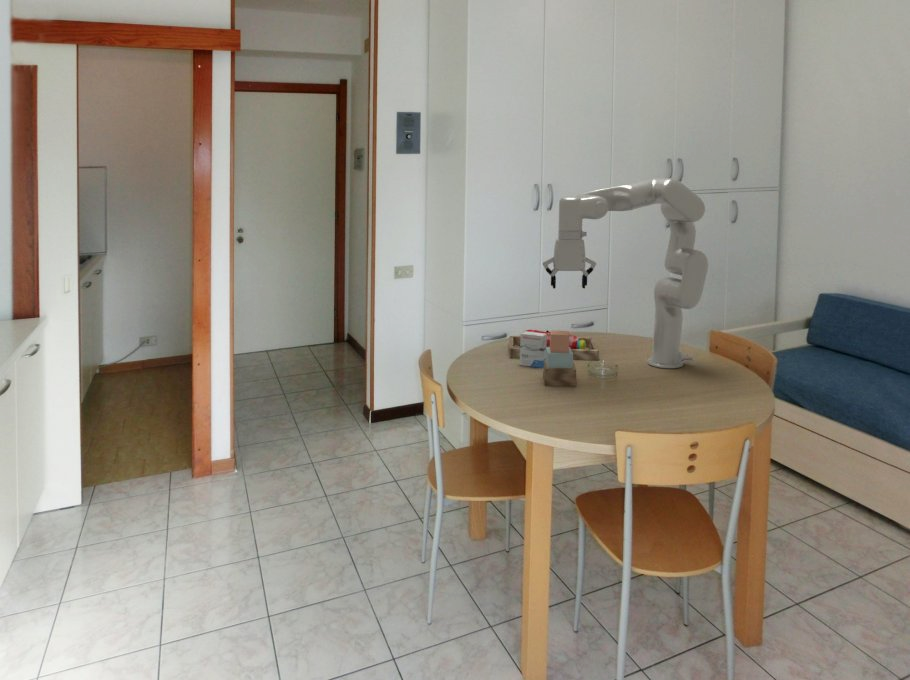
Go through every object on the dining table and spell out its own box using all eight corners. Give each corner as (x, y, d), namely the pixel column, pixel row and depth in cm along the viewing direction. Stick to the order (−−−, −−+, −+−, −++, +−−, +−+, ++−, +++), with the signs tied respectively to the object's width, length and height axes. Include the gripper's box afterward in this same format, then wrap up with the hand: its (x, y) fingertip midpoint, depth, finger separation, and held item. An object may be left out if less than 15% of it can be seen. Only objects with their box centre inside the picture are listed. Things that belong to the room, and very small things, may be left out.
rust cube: (567, 348, 238) (568, 330, 237) (568, 352, 232) (569, 335, 231) (549, 347, 239) (550, 330, 237) (550, 352, 233) (551, 334, 231)
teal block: (569, 361, 240) (569, 347, 239) (572, 368, 233) (573, 353, 231) (545, 361, 241) (545, 347, 239) (548, 368, 233) (548, 353, 232)
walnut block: (572, 377, 243) (573, 361, 241) (575, 387, 233) (576, 369, 231) (543, 377, 243) (543, 360, 242) (544, 386, 234) (545, 368, 232)
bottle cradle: (592, 346, 282) (592, 337, 281) (598, 360, 263) (598, 350, 262) (509, 344, 284) (509, 335, 283) (509, 358, 265) (509, 348, 264)
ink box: (546, 364, 257) (547, 333, 254) (541, 368, 253) (543, 336, 250) (523, 361, 261) (524, 330, 258) (519, 365, 256) (520, 333, 254)
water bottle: (530, 327, 285) (591, 334, 275) (528, 347, 286) (589, 355, 275) (519, 328, 275) (582, 336, 264) (517, 349, 276) (580, 357, 265)
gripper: (595, 234, 233) (593, 285, 237) (542, 234, 234) (541, 285, 238) (598, 236, 226) (596, 289, 230) (544, 237, 227) (543, 290, 231)
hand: (568, 287), depth 234 cm, fingers open, 9 cm apart
